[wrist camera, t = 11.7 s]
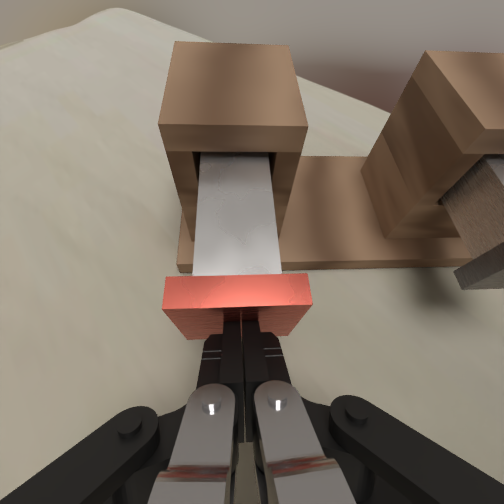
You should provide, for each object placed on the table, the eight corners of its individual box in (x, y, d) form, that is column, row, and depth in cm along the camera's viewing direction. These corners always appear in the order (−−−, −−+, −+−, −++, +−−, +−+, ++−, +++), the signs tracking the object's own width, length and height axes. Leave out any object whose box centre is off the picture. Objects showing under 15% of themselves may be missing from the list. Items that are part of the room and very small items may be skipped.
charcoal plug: (441, 128, 23) (490, 63, 19) (542, 287, 16) (663, 242, 11) (385, 127, 23) (421, 61, 18) (461, 289, 16) (554, 244, 11)
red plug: (265, 143, 21) (273, 73, 17) (287, 335, 14) (312, 304, 9) (201, 142, 21) (191, 71, 16) (187, 339, 13) (161, 309, 9)
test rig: (420, 168, 29) (521, 40, 18) (471, 265, 23) (661, 157, 13) (190, 167, 27) (162, 26, 17) (180, 272, 21) (127, 153, 11)
